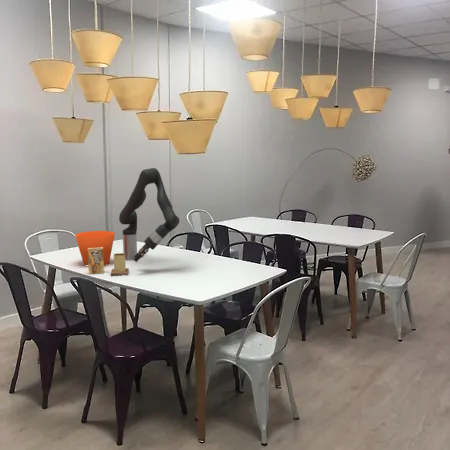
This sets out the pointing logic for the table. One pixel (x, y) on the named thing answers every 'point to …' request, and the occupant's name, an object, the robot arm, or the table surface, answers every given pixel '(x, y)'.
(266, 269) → the table surface
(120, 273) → the post base
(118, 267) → the sleeve
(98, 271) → the candy box
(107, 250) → the flowerpot
